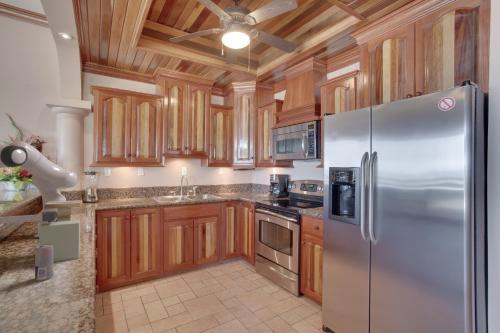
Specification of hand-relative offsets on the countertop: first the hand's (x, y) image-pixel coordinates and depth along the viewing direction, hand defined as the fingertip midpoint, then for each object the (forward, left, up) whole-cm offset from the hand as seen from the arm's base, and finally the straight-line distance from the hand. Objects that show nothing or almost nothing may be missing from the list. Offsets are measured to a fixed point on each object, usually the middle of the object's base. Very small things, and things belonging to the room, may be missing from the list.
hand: (6, 218), depth 107 cm
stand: (-11, +18, -20) cm, 29 cm away
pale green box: (0, +18, -20) cm, 27 cm away
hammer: (0, +4, -2) cm, 5 cm away
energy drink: (+22, +16, -20) cm, 34 cm away
